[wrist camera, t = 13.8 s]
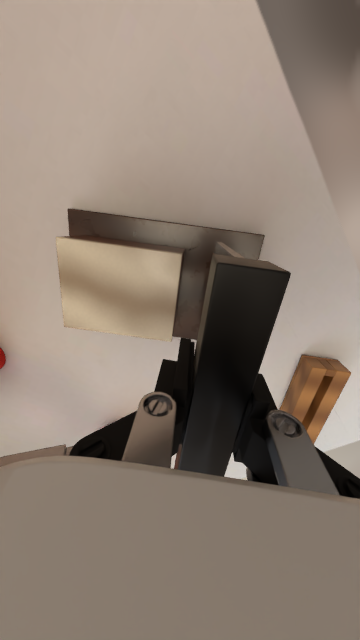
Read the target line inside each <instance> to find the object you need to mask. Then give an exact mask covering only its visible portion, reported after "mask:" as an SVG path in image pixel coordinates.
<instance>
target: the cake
mask: <svg viewBox="0 0 360 640" xmlns="http://www.w3.org/2000/svg"><path fill="white" fill-rule="evenodd" d="M68 221H69V235H70V236H64V237H56V246H57V257H58V267H59V277H60V288H61V298H62V309H63V319H64V327H69V328H77V329H84V330H91V331H98V332H105V333H112V334H119V335H126V336H133V337H140V338H147V339H155V340H162V341H169V342H171V341H172V336H173V337H181V338H188V339H195V340H197V338H198V332H199V327H200V321H201V315H202V310H203V304H204V299H205V293H206V288H207V282H208V276H209V271H210V265H211V260H212V254H213V253H214V252H215V247H216V242H222V243H223V244H225V245H226V246H228V247H229V248H231V249H232V250H234V251H235V252H237V253H238V254H240V255H241V256H243V257H244V258H246V259H254V260H258V259H259V255H260V251H261V247H262V244H263V240H264V235H260V234H253V233H245V232H238V231H231V230H223V229H216V228H208V227H201V226H194V225H186V224H179V223H171V222H164V221H157V220H149V219H142V218H134V217H127V216H120V215H112V214H105V213H97V212H90V211H83V210H75V209H68Z"/></svg>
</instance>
